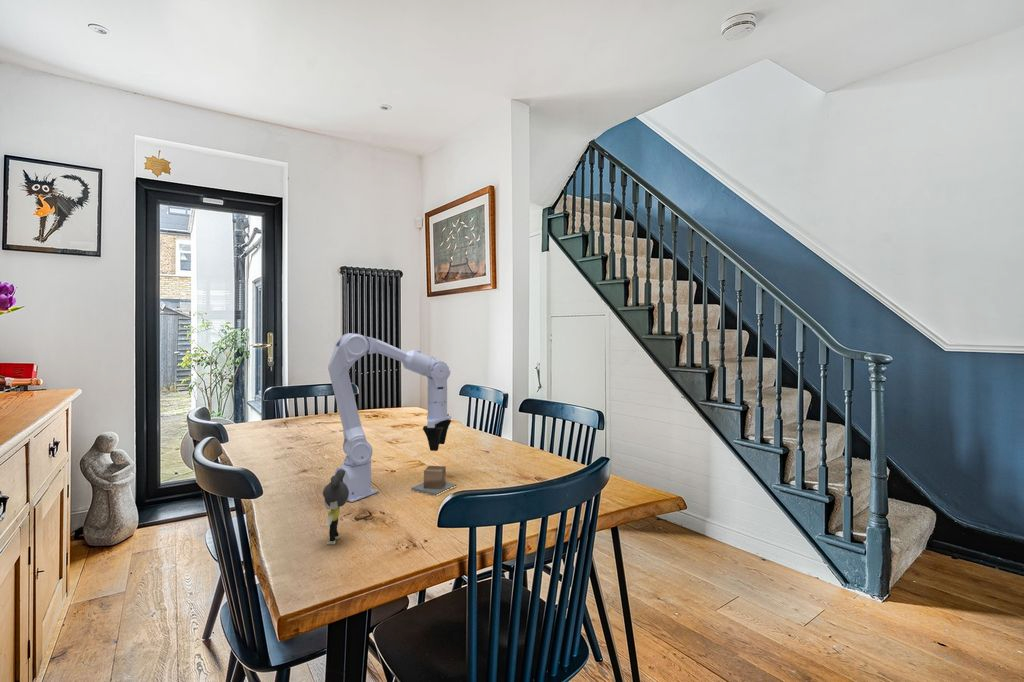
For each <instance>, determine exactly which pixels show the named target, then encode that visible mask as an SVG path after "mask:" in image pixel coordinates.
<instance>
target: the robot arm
mask: <svg viewBox="0 0 1024 682" xmlns="http://www.w3.org/2000/svg"><path fill="white" fill-rule="evenodd" d="M367 354H368V355H371V354H380V355H383V356H385V357H388V358H391V359H393V360H396V361H399V362H401V363H402V365H403V368H404V369H407V370H408V371H411V372H413V373H416V374H419V375H420V376H422V377H423V376H424V377H426V378H427V416H426V420H427V421H426V422H427V424H426V425H423V426H422V430H423V433H424V435H425V436H426V439H427V442H428V446H429V447H428V448H429V450H430V451H431V452H432V451H433V452H438V451H439V447H440V445H445V443H446V438H447V433H448V430H449V426H450V425H451V422H452V420H451V419H452V416H451V415H448V379H449V377H450V375H451V370H450V367H449V365H448V364H447V363H446V362H444V361H441V360H437V359H436V358H437V357H435V356H433V355H432V356H429V355H426V354H424V353H422V350H420V349H415V350H414V349H411V350H409V351H404V350H402V349H401V348H398V347H396V346H393V345H391V344H389V343H387V342H384V341H382V340H381V339H379V338H374V337H370V336H365V335H362V334H359V333H353V332H348V333H344V334H343V335H342V336H341V337H340V338H339V339H338V341H336V343H335V345H334V349H333V352H332V353H331V356H330V359H329V362H328V365H327V368H328V373H329V377H330V378H329V379H330V381H331V386H332V390H333V393H334V398H335V402H336V406H337V409H338V413H339V418H340V422H341V427H342V429H343V431H342V433H343V443H342V449H343V452H344V453H345V455H346V456H345V457H344V459H343V463H342V465H340V467H337V468H336V469H335V471H334V474H333V476H335V474H336V473H337V471H338V470H339V469H341V470H344V471H345V475H344V477H343V482H344V483H345V484H346V486H347V488H348V490H349V495H348V499H347V501H346V502H349V503H353V502H356V501H359V500H361V499H363V498H367V497H369V496H371V495H374V494H377V493H379V490H378V489H375V488H372V456H373V447H372V445H371V443H370V442H368V440H367V438H366V434H365V432H364V429H363V427H362V423H361V418H360V413H359V410H358V406H357V402H356V398H355V393H354V389H353V385H352V382H351V381H352V380H351V377H350V374H349V373H350V372H349V370H350V369H351V368H352V366H353V365H354V363H356V362H357V361H358V360H359V359H360V358H362V357H364V355H367Z"/></svg>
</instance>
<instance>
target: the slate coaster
mask: <svg viewBox="0 0 1024 682" xmlns="http://www.w3.org/2000/svg"><path fill="white" fill-rule="evenodd" d="M456 485H458V484H457V483H453V482H447V481H446V484H445V485H444V486H443V488H442V489H425V488H424V482H421V483H419V484H417V485H415V486H411V491H412V490H414V491H413V492H416V491H419V492H418V493H420V492H423V493H422V494H425V493H428V494H427V495H429V494H433V495H437V494H439V493H441V492H443V491H445V490H447V489H450V488H451V487H454V486H456ZM433 495H432V496H433Z"/></svg>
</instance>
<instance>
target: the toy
mask: <svg viewBox="0 0 1024 682" xmlns="http://www.w3.org/2000/svg"><path fill="white" fill-rule="evenodd" d="M344 475H345V471H344V470H341V469H339V470H338V471H337V473H336V474H335V476H334V475H332V476H331V478H330V482H329V483H328V484H326V485H325V487H324V488H323V490H322V496H323V497H324V500H323V502H322V503H323V504H324V507H325V509H326V510H329V512H328V514H327V516H328V517H327V520H326V522H325V524H324V527H325V528H328V527H329V532H328V534H329V541H327V542H326V545H336V544H335V543H336V540H339V538H340V534H339V532H338V524H339V516H340V515H339V513H340V512H341V507H343V506H345V504H346V503H347V502H348V501H347V499H348V495H349V490H348V488H347V486H346V484H345V483H344V482H343V477H344Z"/></svg>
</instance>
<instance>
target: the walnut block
mask: <svg viewBox="0 0 1024 682" xmlns="http://www.w3.org/2000/svg"><path fill="white" fill-rule="evenodd" d="M446 474H447V468H446V466H445V465H443V466H442V465H428V466H427V467H426V468H425V469H424V470H423V483H424V488H425V489H442V488H443V486H444V485H445V484H446V482H447V477H446Z"/></svg>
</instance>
